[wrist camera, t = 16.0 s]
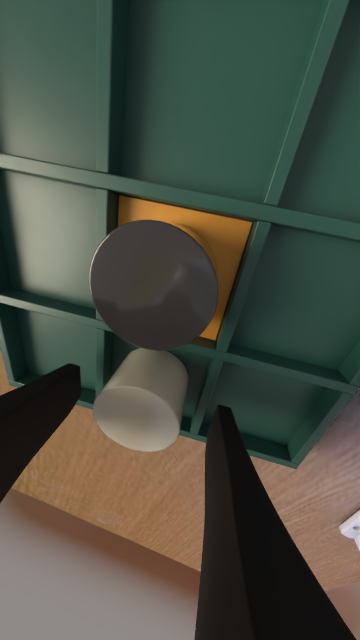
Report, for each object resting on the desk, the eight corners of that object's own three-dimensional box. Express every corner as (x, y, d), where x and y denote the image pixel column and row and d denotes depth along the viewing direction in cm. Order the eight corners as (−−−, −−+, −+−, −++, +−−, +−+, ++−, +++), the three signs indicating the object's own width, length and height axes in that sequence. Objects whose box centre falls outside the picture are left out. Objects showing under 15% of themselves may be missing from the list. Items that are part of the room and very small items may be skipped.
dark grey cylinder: (205, 325, 10) (200, 364, 7) (125, 305, 10) (88, 334, 7) (230, 234, 8) (236, 237, 5) (131, 214, 8) (86, 205, 5)
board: (288, 445, 13) (296, 469, 12) (28, 371, 15) (9, 385, 13) (603, -14, 5) (745, -105, 4) (-56, -80, 6) (-128, -162, 5)
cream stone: (181, 409, 13) (170, 462, 10) (119, 392, 13) (92, 437, 10) (196, 357, 11) (188, 402, 8) (124, 338, 11) (92, 375, 8)
